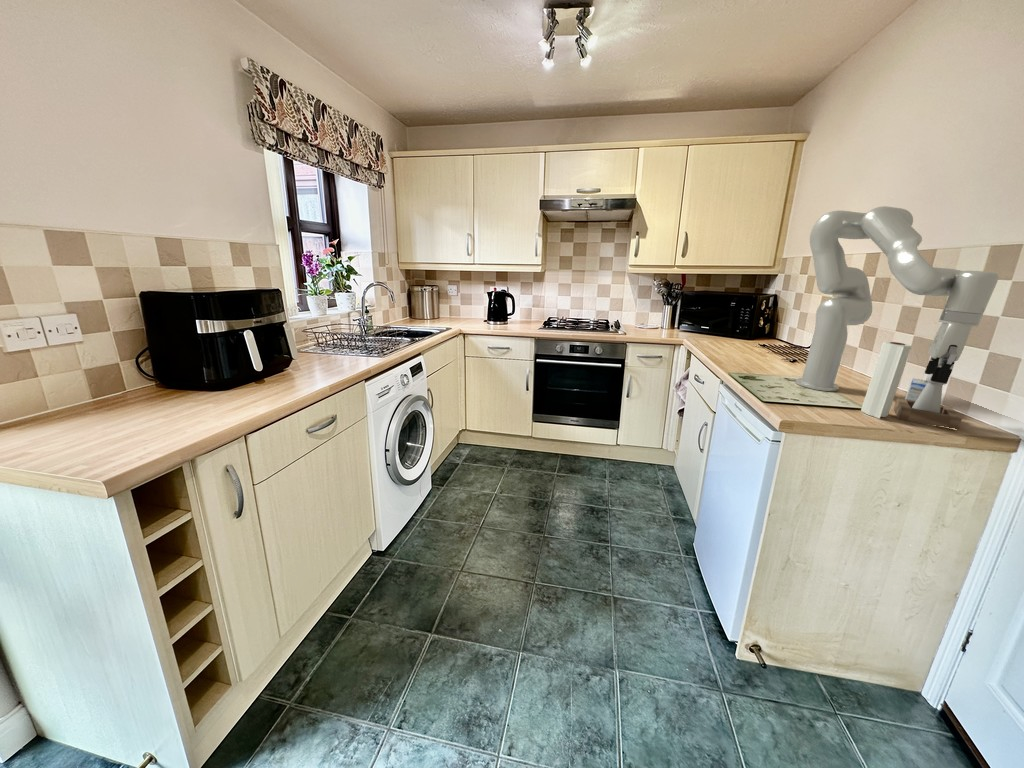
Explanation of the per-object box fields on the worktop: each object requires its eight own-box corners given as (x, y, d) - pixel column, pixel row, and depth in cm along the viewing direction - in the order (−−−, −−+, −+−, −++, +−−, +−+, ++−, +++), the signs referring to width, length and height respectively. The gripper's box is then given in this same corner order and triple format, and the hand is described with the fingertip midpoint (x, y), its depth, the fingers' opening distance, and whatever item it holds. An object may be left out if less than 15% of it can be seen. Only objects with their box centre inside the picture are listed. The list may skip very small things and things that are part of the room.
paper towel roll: (866, 409, 124) (889, 340, 118) (891, 416, 119) (916, 344, 113) (854, 412, 121) (877, 341, 115) (879, 419, 116) (904, 346, 110)
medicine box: (903, 403, 132) (912, 377, 130) (922, 407, 129) (931, 381, 127) (901, 408, 127) (911, 382, 124) (921, 412, 124) (931, 385, 121)
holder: (893, 408, 126) (897, 397, 125) (947, 418, 119) (951, 407, 118) (898, 419, 117) (902, 407, 116) (957, 430, 110) (962, 418, 109)
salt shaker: (942, 422, 115) (959, 378, 111) (919, 420, 116) (935, 376, 112) (926, 415, 121) (942, 373, 117) (904, 413, 122) (919, 371, 118)
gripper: (934, 313, 118) (912, 369, 124) (947, 319, 105) (921, 381, 111) (971, 317, 114) (946, 375, 120) (989, 324, 101) (960, 388, 107)
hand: (934, 378), depth 115 cm, fingers open, 9 cm apart
